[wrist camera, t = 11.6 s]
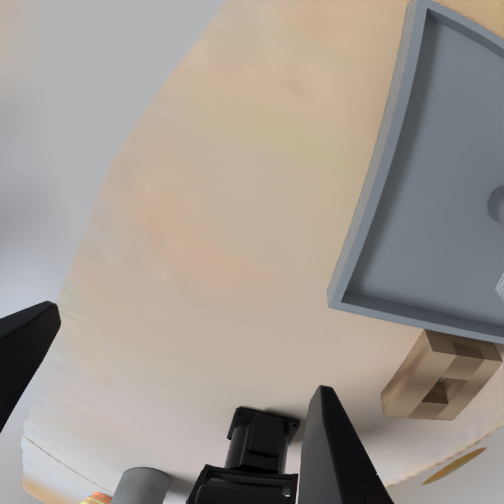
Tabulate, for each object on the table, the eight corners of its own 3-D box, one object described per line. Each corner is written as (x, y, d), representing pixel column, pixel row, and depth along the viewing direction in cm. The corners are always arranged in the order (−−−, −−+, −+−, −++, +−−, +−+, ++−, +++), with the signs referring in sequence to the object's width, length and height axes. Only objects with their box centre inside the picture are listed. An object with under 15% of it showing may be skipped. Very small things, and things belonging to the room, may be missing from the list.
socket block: (447, 401, 25) (452, 420, 23) (380, 394, 25) (383, 415, 23) (492, 342, 21) (503, 361, 19) (424, 329, 22) (432, 351, 19)
